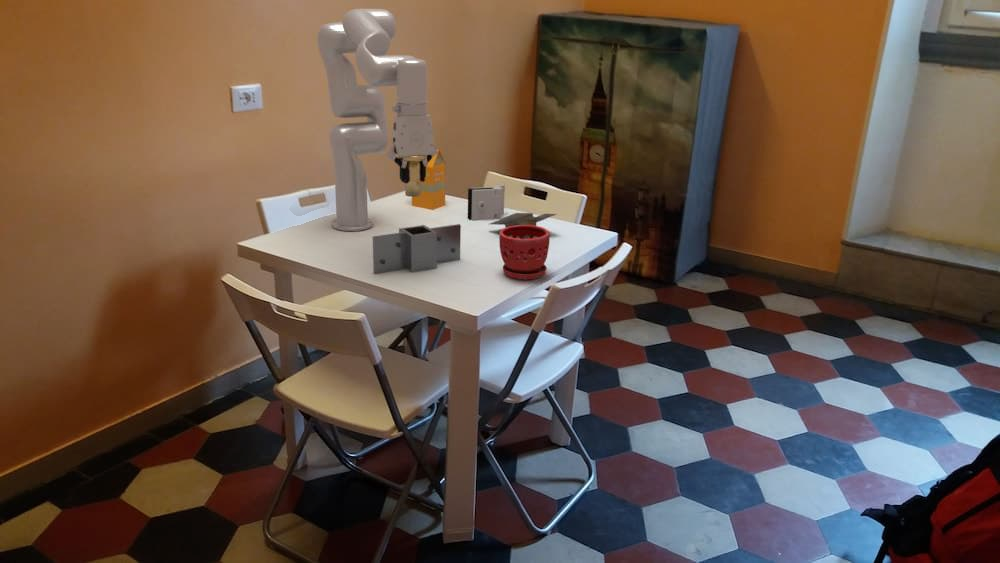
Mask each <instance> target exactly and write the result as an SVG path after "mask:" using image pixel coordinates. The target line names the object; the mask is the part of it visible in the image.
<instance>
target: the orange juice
mask: <svg viewBox="0 0 1000 563" xmlns="http://www.w3.org/2000/svg"><path fill="white" fill-rule="evenodd" d="M436 149H437V151H438V153H437V154H436V155H435V156H434V157H432V159H431V160H430V161H429V162H428V165H427V166H426V177H425V181H424V182H422V181H421V195H420V196H417V197H411V206H412V207H417V208H421V209H427V210H431V211H433V210H436V209H439V208H441V207H444V206H446V187H447V186H446V184H447V183H446V182H447V181H446V172H447V171H446V166H447V165H446V164H447V163H446V161H445V159H444V157H443V155H442V152H441V151H440V150H441V149H440V148H436Z"/></svg>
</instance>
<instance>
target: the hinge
mask: <svg viewBox="0 0 1000 563" xmlns="http://www.w3.org/2000/svg"><path fill="white" fill-rule="evenodd" d="M505 186H506V184H500V185H497V186H488V187H487V186H486V187H470V188H467V220H468V221H472V222H473V221H490V220H491V221H492V220H500V219H502V216H503V215H504V214H505V195H506V194H505V191H506V187H505Z"/></svg>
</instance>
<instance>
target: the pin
mask: <svg viewBox="0 0 1000 563" xmlns="http://www.w3.org/2000/svg"><path fill="white" fill-rule="evenodd" d="M402 158H403V157H401V156H400V160H402ZM425 159H426V155H421V156H409V157H404V161H407V165H406V168H408V183H404V188H405V189H404V192H405V193H404V194H405V196H406V197H411V198H412V197H417V196H420V195H421V161H423V160H425Z"/></svg>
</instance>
